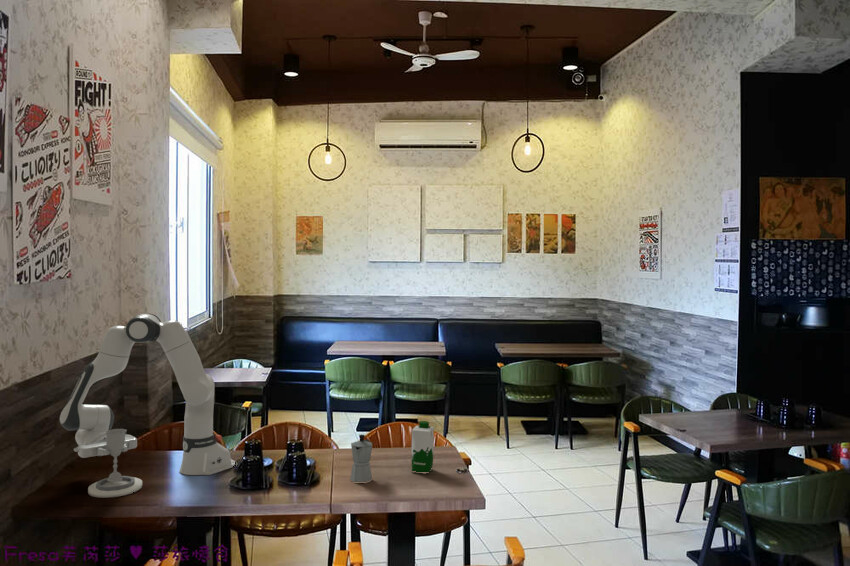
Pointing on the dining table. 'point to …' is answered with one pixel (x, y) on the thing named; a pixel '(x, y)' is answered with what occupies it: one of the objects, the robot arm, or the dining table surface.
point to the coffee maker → (361, 460)
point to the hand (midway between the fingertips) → (116, 450)
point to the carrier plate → (115, 487)
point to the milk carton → (422, 447)
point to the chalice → (115, 449)
